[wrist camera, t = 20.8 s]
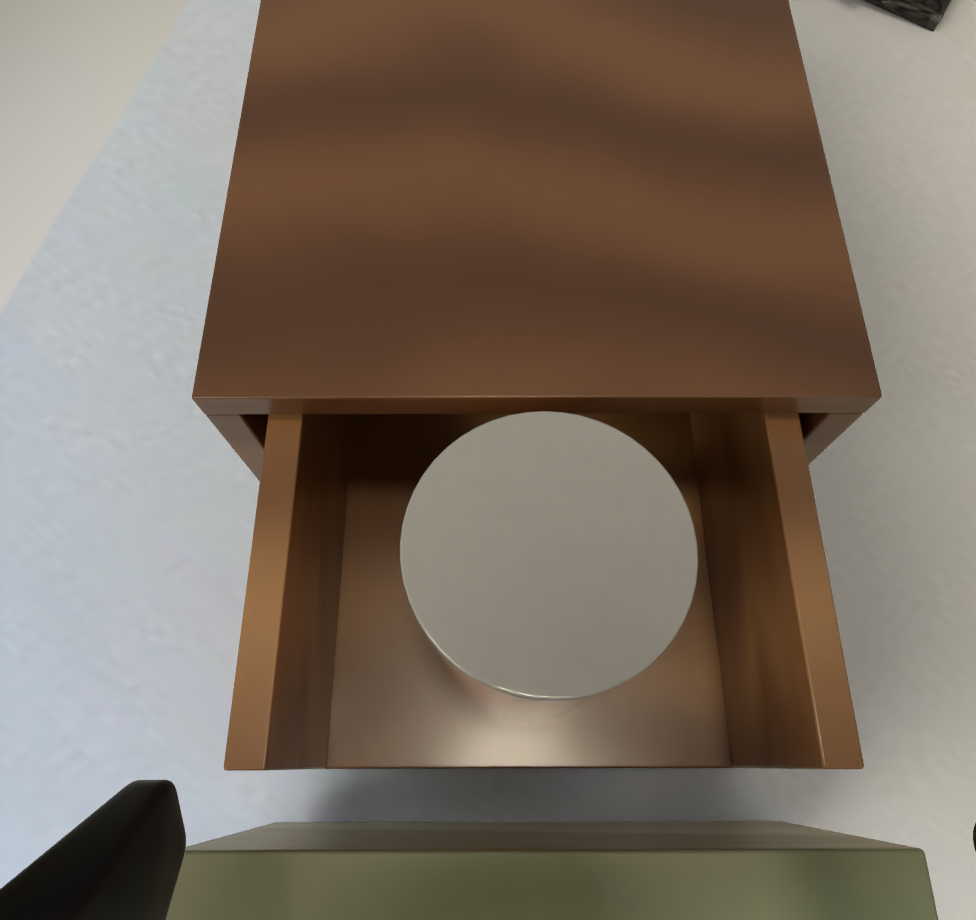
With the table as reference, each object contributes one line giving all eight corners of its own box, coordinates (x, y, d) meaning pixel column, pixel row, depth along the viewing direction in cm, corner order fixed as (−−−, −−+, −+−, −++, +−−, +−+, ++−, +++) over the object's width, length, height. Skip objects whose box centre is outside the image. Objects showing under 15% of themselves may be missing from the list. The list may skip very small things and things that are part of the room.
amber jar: (639, 711, 19) (732, 678, 12) (442, 737, 19) (413, 720, 12) (602, 523, 21) (662, 395, 14) (423, 545, 21) (388, 426, 14)
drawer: (816, 1061, 17) (1004, 1231, 11) (249, 1062, 17) (112, 1234, 11) (719, 377, 24) (799, 242, 18) (318, 378, 24) (258, 243, 18)
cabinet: (749, 521, 23) (883, 396, 15) (292, 523, 23) (190, 398, 15) (694, 151, 29) (770, -76, 21) (331, 152, 29) (273, -75, 21)
